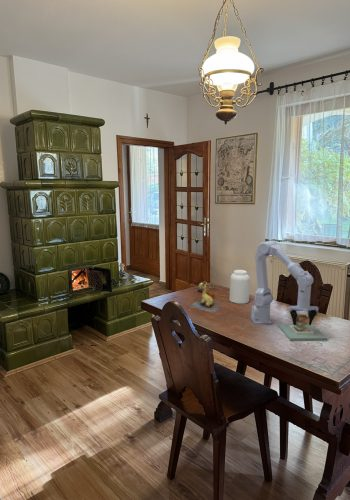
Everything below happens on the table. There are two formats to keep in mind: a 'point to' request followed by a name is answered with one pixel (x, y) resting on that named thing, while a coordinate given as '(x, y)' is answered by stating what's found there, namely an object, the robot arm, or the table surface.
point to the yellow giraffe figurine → (205, 299)
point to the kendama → (208, 293)
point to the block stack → (302, 323)
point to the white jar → (239, 287)
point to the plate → (302, 333)
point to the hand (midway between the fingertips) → (301, 324)
